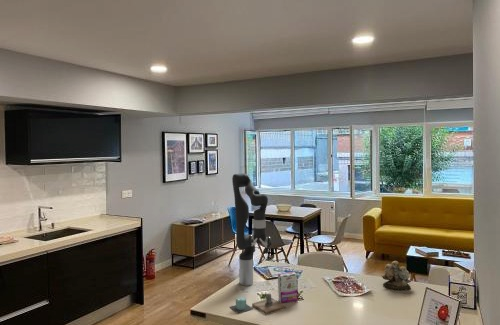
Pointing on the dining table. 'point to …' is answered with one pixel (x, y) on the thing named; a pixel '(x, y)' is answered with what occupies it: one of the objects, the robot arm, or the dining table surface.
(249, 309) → the mat
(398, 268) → the owl figurine
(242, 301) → the cap
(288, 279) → the candy bar box
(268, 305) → the post base
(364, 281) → the dining table surface
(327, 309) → the dining table surface
